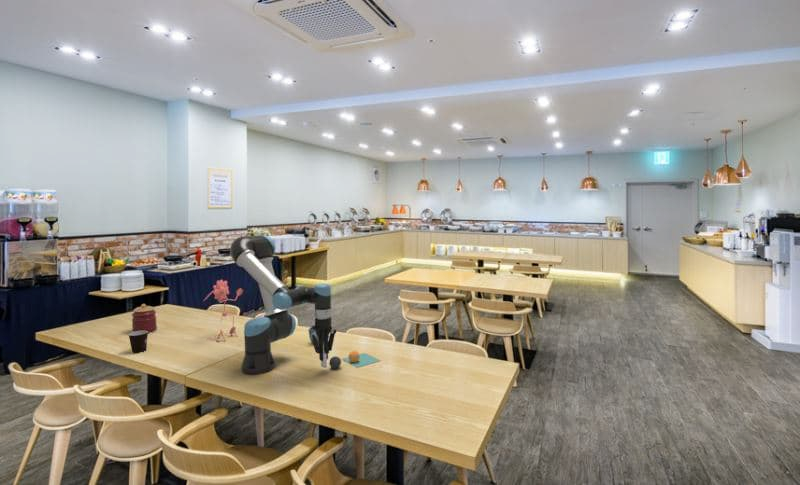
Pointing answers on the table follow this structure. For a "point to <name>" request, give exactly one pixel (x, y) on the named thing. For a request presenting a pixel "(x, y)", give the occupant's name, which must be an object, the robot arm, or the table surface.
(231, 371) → the table surface
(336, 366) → the black ball
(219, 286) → the pink stick figure
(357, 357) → the orange ball
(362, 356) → the teal mark
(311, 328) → the flower pot
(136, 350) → the coffee mug
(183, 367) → the table surface
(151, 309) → the canister
